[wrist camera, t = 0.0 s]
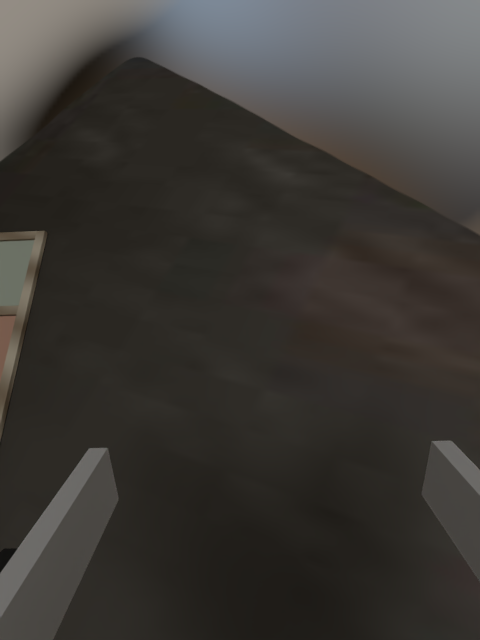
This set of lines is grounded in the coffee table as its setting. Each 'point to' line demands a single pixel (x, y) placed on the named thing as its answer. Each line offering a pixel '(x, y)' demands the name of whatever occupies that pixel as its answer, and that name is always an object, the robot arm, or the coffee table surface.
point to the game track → (16, 302)
